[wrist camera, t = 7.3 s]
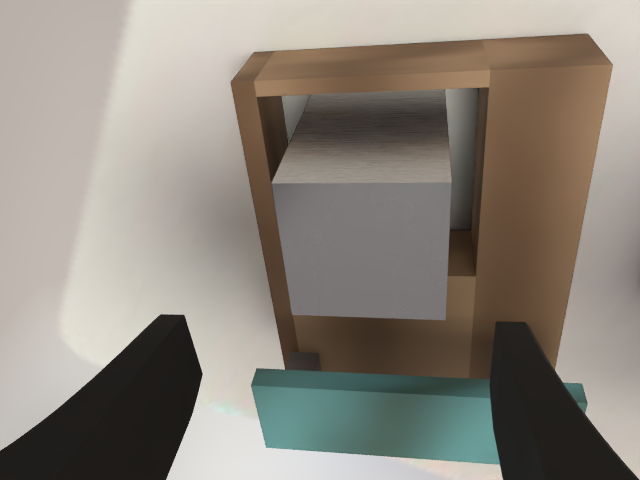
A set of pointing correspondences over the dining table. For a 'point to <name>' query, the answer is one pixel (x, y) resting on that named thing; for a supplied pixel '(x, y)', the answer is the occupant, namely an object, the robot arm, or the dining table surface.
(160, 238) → the dining table surface
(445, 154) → the peg
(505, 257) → the socket board
